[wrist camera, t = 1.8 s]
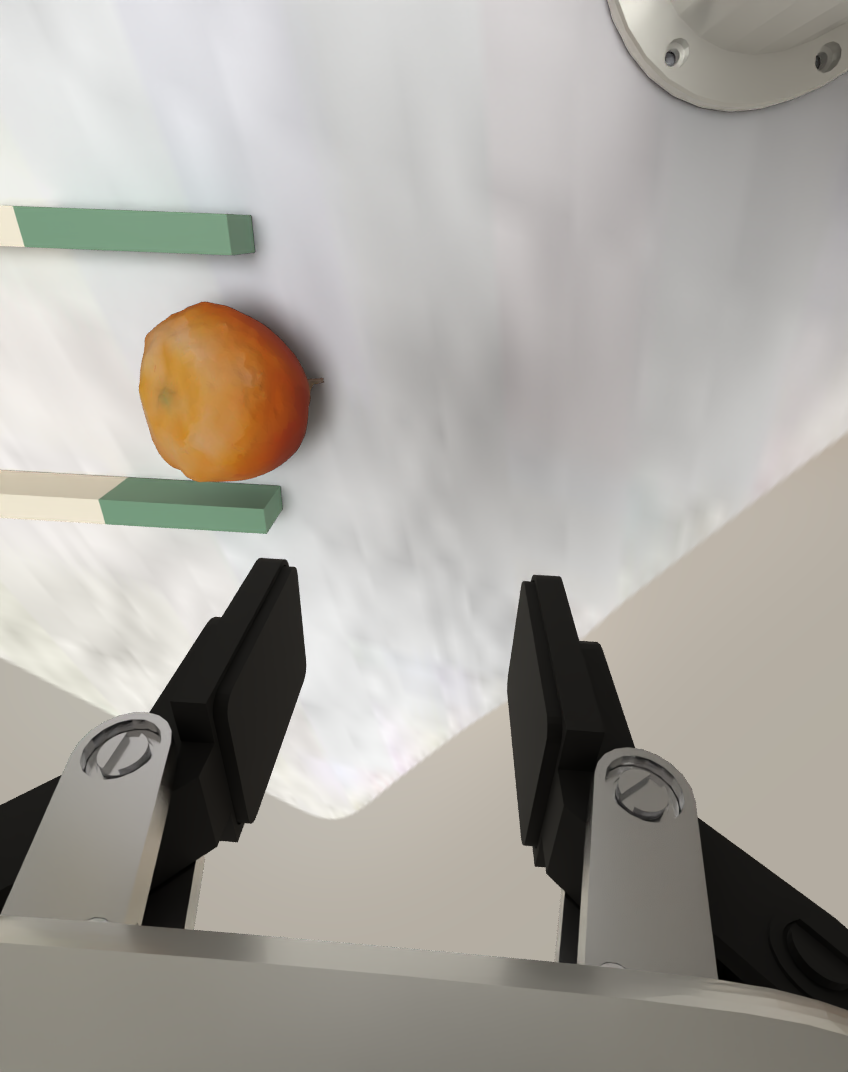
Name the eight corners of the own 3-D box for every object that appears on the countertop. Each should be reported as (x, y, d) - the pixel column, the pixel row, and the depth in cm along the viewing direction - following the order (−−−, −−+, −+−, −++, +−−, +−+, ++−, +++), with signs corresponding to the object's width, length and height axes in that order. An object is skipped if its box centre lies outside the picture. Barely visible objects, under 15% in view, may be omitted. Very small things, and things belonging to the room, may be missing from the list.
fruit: (320, 500, 30) (195, 529, 24) (231, 423, 33) (95, 428, 26) (379, 368, 27) (251, 358, 20) (273, 291, 29) (128, 259, 22)
